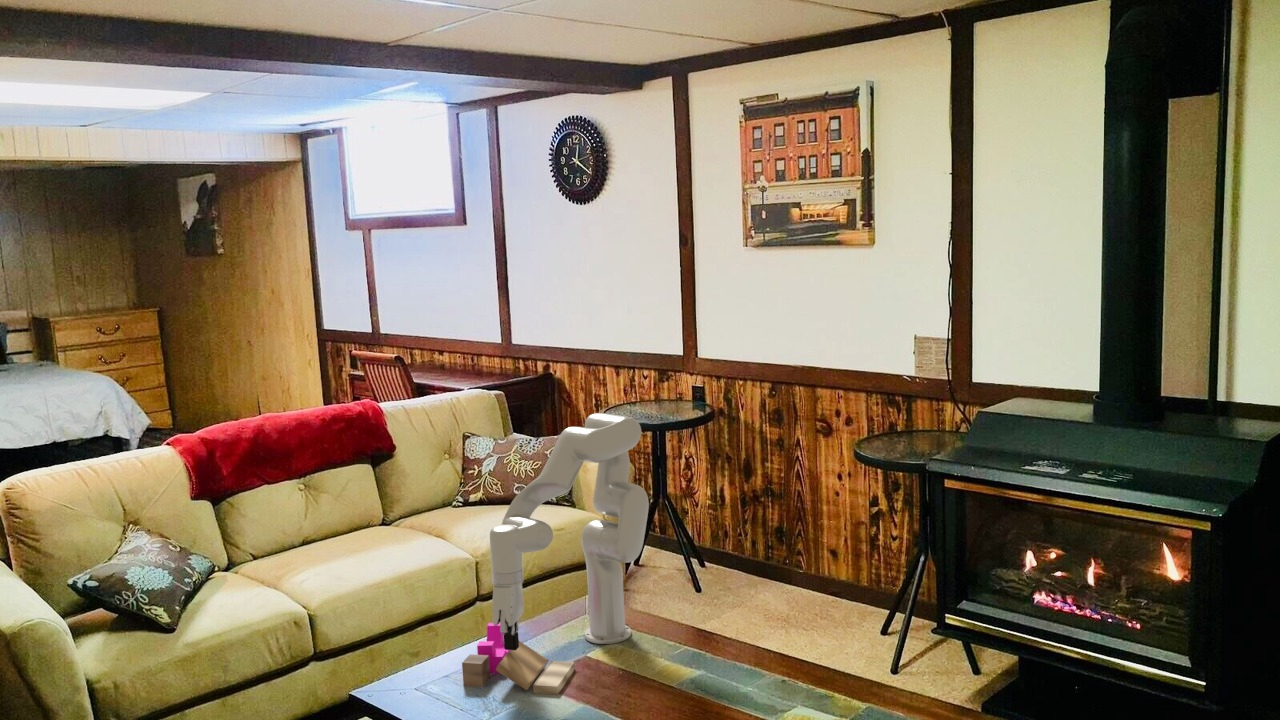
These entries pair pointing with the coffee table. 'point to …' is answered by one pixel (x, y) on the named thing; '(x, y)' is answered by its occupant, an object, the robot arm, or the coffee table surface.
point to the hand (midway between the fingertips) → (511, 648)
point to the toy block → (493, 646)
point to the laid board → (553, 677)
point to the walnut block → (476, 670)
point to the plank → (522, 665)
